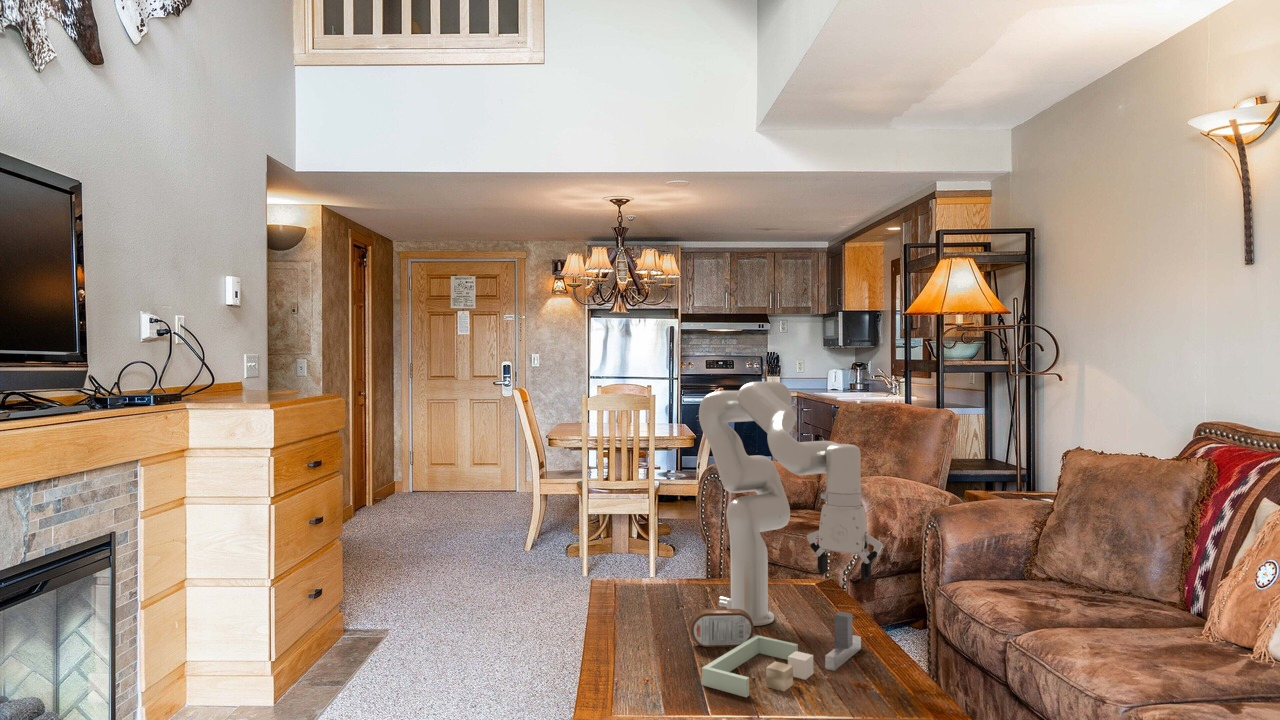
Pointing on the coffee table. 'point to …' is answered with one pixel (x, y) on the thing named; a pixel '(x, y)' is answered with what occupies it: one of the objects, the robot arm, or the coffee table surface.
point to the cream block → (801, 664)
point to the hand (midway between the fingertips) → (844, 576)
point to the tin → (721, 627)
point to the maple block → (779, 676)
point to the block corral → (720, 668)
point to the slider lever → (842, 641)
